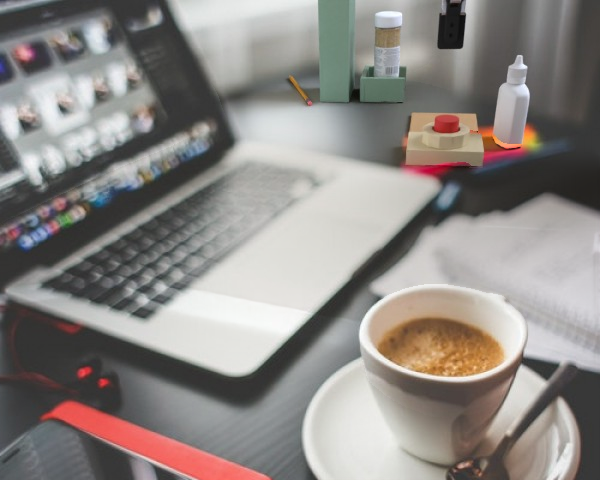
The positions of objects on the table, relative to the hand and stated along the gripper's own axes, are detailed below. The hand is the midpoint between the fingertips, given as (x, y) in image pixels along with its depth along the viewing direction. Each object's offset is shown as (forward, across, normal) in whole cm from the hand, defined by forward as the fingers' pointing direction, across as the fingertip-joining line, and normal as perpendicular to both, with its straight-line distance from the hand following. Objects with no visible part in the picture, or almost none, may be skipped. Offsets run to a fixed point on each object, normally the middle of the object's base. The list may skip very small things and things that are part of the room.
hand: (449, 47), depth 80 cm
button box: (+14, -2, 0) cm, 14 cm away
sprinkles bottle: (+14, +26, +9) cm, 31 cm away
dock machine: (+14, +27, +13) cm, 33 cm away
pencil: (+14, +29, +25) cm, 41 cm away
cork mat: (+14, +10, 0) cm, 17 cm away
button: (+10, -2, 0) cm, 11 cm away
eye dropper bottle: (+14, +4, -9) cm, 17 cm away
